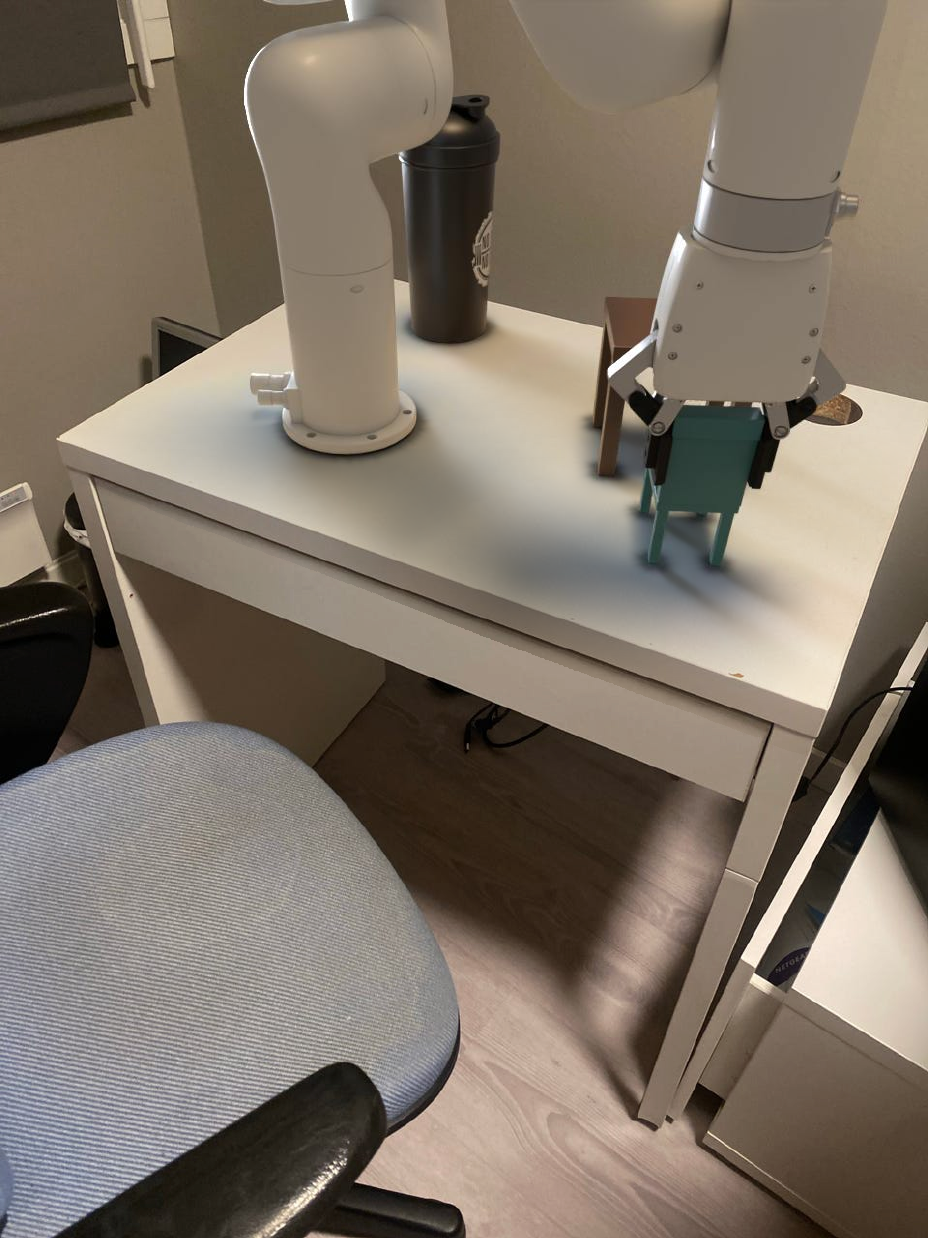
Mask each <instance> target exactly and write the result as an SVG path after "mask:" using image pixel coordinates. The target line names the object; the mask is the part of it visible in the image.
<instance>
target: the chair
mask: <svg viewBox="0 0 928 1238" xmlns="http://www.w3.org/2000/svg"><path fill="white" fill-rule="evenodd" d="M764 422H765V419H764V417H763V411H762V408H761V407H760V406H752V407H735V406H730V405H724V406H705V405H701V404H700V405H698V404H684V405H683V406H682V408H681V409H680V411H679V412H678V414H677V415H676V417H675V418H674V420H673V421H672V423H671V426H670V429H671V433H672V436H673V443H672V448H671V453H670V459H669V464H668V469H667V475H666V480H665V484H662V486H654V484H653V479H652V474H651V469H648V468H644V475H643V481H642V485H641V492H640V497H639V504H638V510H639V512H640V513H649V512H650V509H651V505H652V504H651V503H652V498H653V501H654V502H653V503H654V507H655V515H654V519H653V525H652V530H651V535H650V536H651V537H650V540H649V547H648V551H647V561H648V564H659V563H660V558H661V553H662V549H663V548H662V547H663V542H664V538H665V534H666V527H667V524H668V523H667V522H668V518H669V513H670V512H680V513H697V514H698V515H708V513H709V514H719V519H718V522H717V527H716V530H715V535H714V539H713V543H712V547H711V551H710V556H709V562H710V566H717V567H718V566H722V564H723V560H724V556H725V552H726V548H727V544H728V540H729V536H730V533H731V529H732V524H733V521H734V517H735V514H736V515H737V514H739V511H740V508H741V507H742V503H743V500H744V496H745V493H746V488H747V486H748V485H747V484H748V482H747V481H748V477H749V474H750V470H751V466H752V462H753V458H754V454H755V451H756V447H757V443H758V441H760V437H761V434H762V430H763V426H764Z"/></svg>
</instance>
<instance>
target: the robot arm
mask: <svg viewBox="0 0 928 1238" xmlns="http://www.w3.org/2000/svg"><path fill="white" fill-rule="evenodd" d="M331 1H332V0H263V2H266V3H270V4H273V5H276V6H277V5H278V6H298V5H299V6H300V5H310V4H319V3H324V2H331ZM508 1H509V3H510V5H511V7H512V9H513V11H514V13H515V15H516V17H517V19H518V21H519V23H520V25H521V27H522V29H523V31H524V33H525V35H526V37H527V38H528V40H529V42H530V44H531V46H532V48H533V50H534V52H535V53H536V55H537V57H538V58H539V60H540V61H541V63H542V65H543V67H544V69H545V70H546V71H547V73H548V75H549V76H550V77H551V78H552V79H553V81H554V82H555V84H556V85H557V86H558V87H559V88H560V89H561V91H562V92H563V93H564V94H565V95H567V97H569V98H570V99H571V100H572V101H574V102H575V103H576V104H577V105H579V106H580V107H583V108H584V109H586V110H589V111H590V112H592V113H593V112H594V113H597V114H603V115H611V116H612V115H613V116H614V115H622V114H627V113H630V112H634V111H637V110H640V109H644V108H646V107H649V106H652V105H654V104H657V103H660V102H663V101H665V100H669V99H670V98H673V97H678V96H682V95H686V94H690V93H694V92H698V91H701V90H705V89H709V88H716V94H715V98H714V99H715V100H714V104H713V105H714V106H713V111H712V116H711V117H712V118H711V123H710V129H709V135H708V140H707V147H706V153H705V158H704V164H703V170H702V175H701V181H700V186H699V190H698V191H699V193H698V198H697V203H696V210H695V214H694V222H693V223H688V224H684V225H682V226H681V227H679V229H678V231H677V234H676V235H675V239H674V242H673V244H672V247H671V250H670V254H669V257H668V259H667V263H666V266H665V269H664V273H663V276H662V280H661V284H660V287H659V292H658V295H657V296H658V297H657V298H658V300H657V304H656V309H655V313H654V318H653V323H652V327H651V332H650V335H649V336H647V337H646V338H645V339H644V340H642V341H641V342H640V343H639V344H638V345H636V346H635V347H634V348H633V349H631V350H630V351H629V352H628V353H626V354H625V355H624V356H623V357H621V358H620V359H619V360H618V361H617V362H615V363H614V364H613V365H612V366H610V367H609V369H608V371H607V375H608V381H609V384H610V385H611V387H612V388H613V389H614V390H615V391H616V392H617V393H618V394H619V395H620V396H621V397H622V398H623V399H624V400H625V403H627V404H628V405H629V408H630V409H631V410H632V411H633V412H634V414H635V415H636V416H637V417H638V418H639V419H640V420H641V421H642V422H643V424H645V425H646V426H647V431H646V436H645V442H644V448H643V457H642V464H643V469H645V468H648V469H651V474H652V479H653V484H654V486H662V484H665V480H666V475H667V469H668V464H669V459H670V453H671V448H672V443H673V436H672V433H671V429H670V426H671V423H672V421H673V420H674V418H675V417H676V415H677V414H678V412H679V411H680V409H681V408H682V406H683V405H685V403H686V402H687V401H698V402H699V401H701V402H706V401H724V402H725V403H726V402H727V403H729V402H730V403H731V402H753V403H761V410H762V414H763V417H764V419H765V422H764V426H763V430H762V434H761V437H760V441H758V443H757V447H756V451H755V454H754V458H753V462H752V466H751V470H750V474H749V477H748V481H747V484H748V485H747V486H748V487H749V488H751V489H752V490H761V488H762V485H763V482H764V479H765V475H766V473H767V474H768V473H769V474H771V472H772V471H773V468H774V465H775V461H776V458H777V454H778V450H779V447H780V442H781V440H784V439H786V438H788V436H789V435H790V433H791V430H792V429H793V428H794V427H796V426H798V425H799V424H800V423H802V422H803V421H805V420H806V419H808V418H809V417H811V416H812V415H813V414H814V413H816V411H817V409H818V407H820V406H825V404H827V403H828V402H830V401H831V400H833V399H834V398H836V397H837V396H839V395H841V394H842V393H843V392H845V390H846V389H847V383H846V381H845V379H844V378H843V376H842V374H841V373H840V371H839V370H838V369H837V367H836V366H835V365H834V363H833V361H832V360H831V359H830V358H829V356H828V355H827V354H826V352H825V351H824V350H823V348H822V347H821V344H822V343H821V342H822V338H823V331H824V327H825V322H826V316H827V311H828V310H827V309H828V303H829V294H830V288H831V280H832V279H831V278H832V269H833V268H832V267H833V253H834V248H833V247H834V245H833V242H832V240H831V237H830V233H831V230H832V228H833V226H834V224H835V223H840V222H841V221H844V220H845V221H852V220H854V219H855V218H856V216H857V213H858V209H859V204H860V200H859V199H860V198H859V196H858V195H857V194H846V192H845V191H842V189H841V188H840V187H839V185H840V181H841V178H842V174H843V170H844V168H845V167H844V166H845V163H846V161H847V155H848V152H849V149H850V145H851V141H852V138H853V134H854V130H855V127H856V124H857V119H858V116H859V113H860V108H861V105H862V102H863V98H864V94H865V90H866V86H867V83H868V79H869V76H870V71H871V69H872V65H873V61H874V57H875V53H876V49H877V46H878V42H879V39H880V35H881V31H882V27H883V24H884V20H885V17H886V13H887V8H888V4H889V0H508ZM344 2H345V6H346V12H347V15H348V19H349V20H342V21H336V22H329V23H325V24H320V25H319V24H318V25H314V26H313V25H312V26H308V27H303V28H299V29H295V30H292V31H289V32H287V33H283V34H282V35H280V36H278V37H276V38H273V40H271V41H269V42H268V43H267V44H265V45H264V46H263V47H262V48H261V49H260V50H259V51H258V52H257V54H256V55H255V57H254V58H253V60H252V61H251V63H250V66H249V67H248V72H247V74H246V77H245V83H244V106H245V112H246V117H247V122H248V125H249V130H250V132H251V136H252V139H253V142H254V145H255V148H256V152H257V155H258V158H259V161H260V165H261V167H262V171H263V175H264V179H265V183H266V187H267V191H268V196H269V202H270V209H271V213H272V218H273V225H274V233H275V241H276V249H277V255H278V261H279V262H278V263H279V269H280V278H281V286H282V291H283V292H282V293H283V301H284V309H285V318H286V325H287V332H288V333H287V334H288V340H289V348H290V356H291V357H290V358H291V364H292V371H284V373H283V375H279V374H278V375H277V374H276V375H274V374H270V373H252V374H251V375H250V378H249V386H250V387H249V388H250V392H251V394H252V395H255V396H257V403H258V405H259V406H283V409H282V414H281V418H282V425H283V429H284V432H285V433H286V435H287V436H288V437H289V438H290V439H291V440H292V441H293V442H295V443H297V444H299V445H300V446H302V447H304V448H307V449H309V450H313V451H315V452H320V453H327V454H334V455H335V454H336V455H355V454H364V453H369V452H370V453H371V452H374V451H375V452H376V451H377V450H382V449H385V448H388V447H390V446H393V445H395V444H396V443H398V442H400V441H402V440H403V439H404V438H405V437H407V435H409V434H410V433H412V430H413V429H414V427H415V426H416V422H417V407H416V403H415V402H414V400H413V398H412V397H411V396H409V394H407V393H406V392H405V391H403V390H401V389H400V387H399V365H398V364H399V363H398V340H397V339H398V338H397V320H396V319H397V317H396V292H395V271H394V270H395V268H394V249H393V247H394V245H393V232H392V231H393V230H392V224H391V220H390V216H389V212H388V210H387V207H386V204H385V202H384V200H383V198H382V196H381V194H380V193H379V191H378V189H377V187H376V185H375V183H374V181H373V179H372V176H371V173H370V165H371V164H372V163H375V162H377V161H380V160H382V159H385V158H388V157H390V156H395V155H398V153H400V152H403V151H406V150H409V149H412V148H415V147H417V146H420V145H422V144H424V143H426V142H427V141H429V140H431V139H432V138H433V137H434V136H435V135H436V134H437V133H438V132H439V131H440V130H441V128H442V127H443V125H444V124H445V122H446V120H447V117H448V115H449V112H450V108H451V104H452V98H453V97H454V66H453V56H452V47H451V39H450V31H449V23H448V22H449V21H448V15H447V7H446V0H344ZM648 368H651V369H652V374H653V378H652V387H653V390H654V391H653V394H651V393H650V392H649V390H648V389H646V387H645V386H644V385H642V384H641V383H639V382H638V379H636V378H637V377H638V376H639V375H640V374H642V373H643V372H644V371H646V370H647V369H648ZM813 375H814V378H813ZM812 378H813V379H814V380H813V381H812ZM811 381H812V382H811Z"/></svg>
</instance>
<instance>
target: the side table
mask: <svg viewBox="0 0 928 1238" xmlns="http://www.w3.org/2000/svg"><path fill="white" fill-rule="evenodd" d="M657 300H658V297H629V296H628V297H623V296H605V298H604V306H603V311H604V318H603V325H602V334H601V344H600V352H599V360H598V369H597V377H596V386H595V395H594V402H593V410H592V411H593V412H592V427H594V428H602V429H601V435H600V436H601V437H600V444H599V453H598V460H597V471H598V472H597V473H598V474H597V475H598V476H608V477H611V476H612V477H615V475H616V467H617V460H618V452H619V446H620V439H621V433H622V426H623V419H624V411H625V403H626V401H625V400H624V399H623V398H622V397H621V396H620V395H619V394H618V393H617V392H616V391H615V390H614V389H613V388H612V387H611V385H610V384H609V381H608V375H607V371H608V369H609V367H610V366H612V365H613V364H614V363H615V362H617V361H618V360H619V359H620V358H621V357H623V356H624V355H625V354H626V353H628V352H629V351H630V350H631V349H633V348H634V347H635V346H636V345H638V344H639V343H640V342H641V341H642V340H644V339H645V338H646V337H647V336H649V335H650V332H651V327H652V323H653V318H654V313H655V309H656V304H657ZM725 403H726V402H724V401H705V405H704V406H725ZM753 403H754V402H730V405H729V406H735V407H753Z"/></svg>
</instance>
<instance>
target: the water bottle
mask: <svg viewBox="0 0 928 1238" xmlns="http://www.w3.org/2000/svg"><path fill="white" fill-rule="evenodd" d="M490 100H491V99H490V96H488V95H484V94H466V95H459V96H453V98H452V104H451V108H450V112H449V115H448V117H447V120H446V122H445V124H444V125H443V127H442V128H441V130H440V131H439V132H438V133H437V134H436V135H435V136H434V137H433V138H432V139H431V140H429V141H427V142H426V143H424V144H422V145H420V146H417V147H415V148H412V149H409V150H406V151H403V152H400V153H397V155H398V159H399V161H400V162H401V173H402V189H403V190H402V191H403V207H404V223H405V224H404V225H405V240H406V241H405V242H406V257H407V258H406V259H407V274H408V275H407V276H408V277H407V278H408V293H409V307H410V308H409V309H410V311H409V312H410V322H411V323H410V326H411V331H412V332H413V333H414V334H415V335H416V336H418V337H420V338H421V339H424V340H427V341H431V342H434V343H442V344H444V343H445V344H450V343H452V344H453V343H454V344H455V343H464V342H468V341H472V340H474V339H475V340H476V339H477V338H479V337H481V336H482V335H483V334H484V333H485V332H486V329H487V319H488V318H487V317H488V301H489V300H488V298H489V285H490V284H489V283H490V274H491V273H490V272H491V259H492V258H491V255H492V242H493V241H492V239H493V225H494V223H493V221H494V206H495V205H494V197H495V196H494V195H495V180H496V165H497V162H498V160H499V156H500V154H501V133H500V132H499V131H498V130H497V128H496V125H495V123H494V121H493V120H492V118H491V117H490V116H489V115H488V114H486V109H487V108H488V107H489V105H490V102H491V101H490Z"/></svg>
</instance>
